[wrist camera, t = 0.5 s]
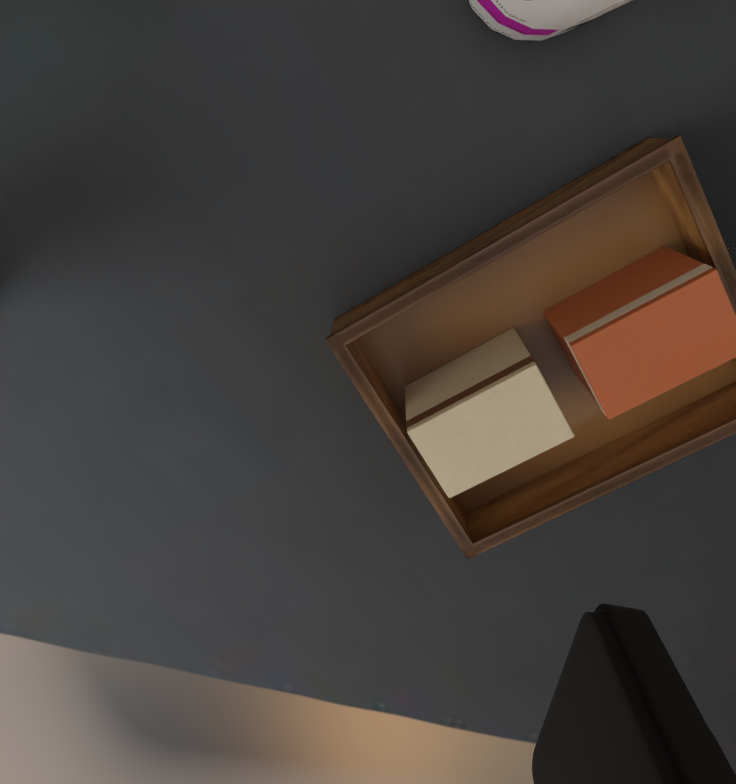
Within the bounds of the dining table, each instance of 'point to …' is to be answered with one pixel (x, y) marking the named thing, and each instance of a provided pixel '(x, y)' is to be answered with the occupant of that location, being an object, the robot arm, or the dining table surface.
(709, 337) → the block
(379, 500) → the dining table surface
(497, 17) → the supplement can
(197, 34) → the dining table surface
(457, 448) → the block
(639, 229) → the wooden tray
